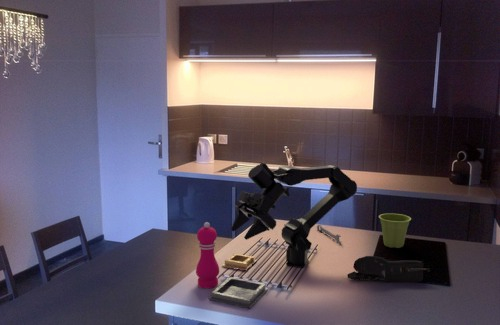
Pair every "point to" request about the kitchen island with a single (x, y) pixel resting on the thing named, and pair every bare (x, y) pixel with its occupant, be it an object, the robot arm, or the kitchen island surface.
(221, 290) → the graphite square tray
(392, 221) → the plant pot
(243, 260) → the brass square tray
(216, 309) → the kitchen island surface
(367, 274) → the black glove
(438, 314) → the kitchen island surface
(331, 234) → the combination wrench
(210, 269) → the pepper mill
